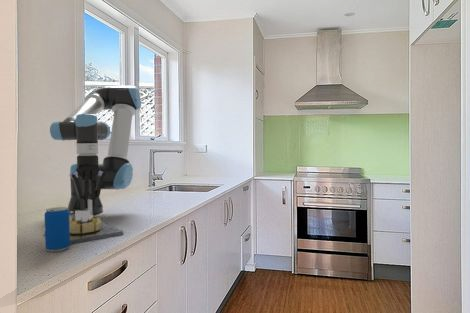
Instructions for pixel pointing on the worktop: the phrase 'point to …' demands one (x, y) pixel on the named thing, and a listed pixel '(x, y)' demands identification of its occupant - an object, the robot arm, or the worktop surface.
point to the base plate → (99, 234)
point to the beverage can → (57, 229)
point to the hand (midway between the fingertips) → (89, 216)
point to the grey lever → (85, 227)
